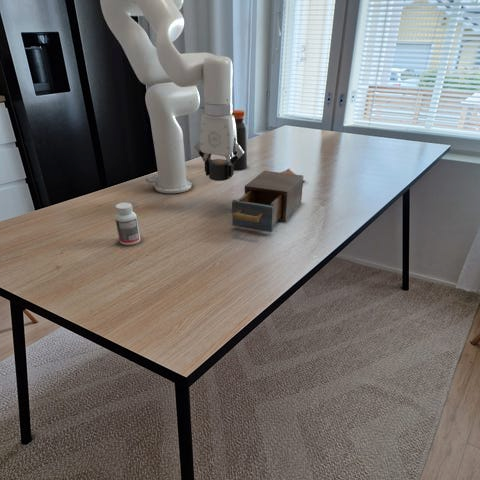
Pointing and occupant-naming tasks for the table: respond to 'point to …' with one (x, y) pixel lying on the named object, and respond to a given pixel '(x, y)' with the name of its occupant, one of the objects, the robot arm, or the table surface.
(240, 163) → the vinegar
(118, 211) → the pill bottle
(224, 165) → the tape roll
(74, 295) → the table surface
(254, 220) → the drawer
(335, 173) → the table surface
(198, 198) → the table surface
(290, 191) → the cabinet
